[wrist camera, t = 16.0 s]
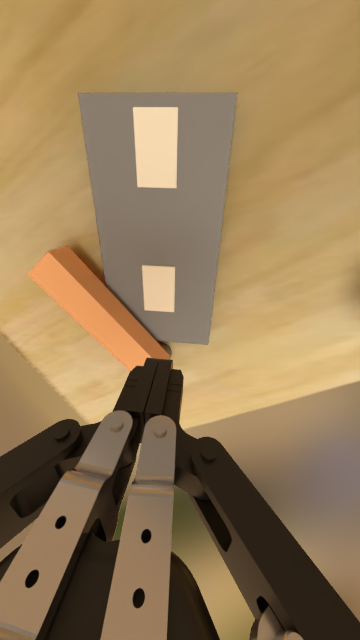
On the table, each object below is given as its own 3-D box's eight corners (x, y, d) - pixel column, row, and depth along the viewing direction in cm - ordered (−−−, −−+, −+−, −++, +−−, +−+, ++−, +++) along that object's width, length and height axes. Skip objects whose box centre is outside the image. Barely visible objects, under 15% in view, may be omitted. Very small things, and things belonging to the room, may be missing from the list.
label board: (86, 100, 20) (73, 89, 18) (234, 100, 19) (238, 88, 17) (120, 355, 35) (115, 364, 33) (205, 362, 34) (205, 371, 32)
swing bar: (176, 362, 31) (173, 379, 28) (155, 373, 33) (150, 390, 30) (67, 245, 24) (48, 251, 21) (48, 266, 26) (27, 274, 23)
